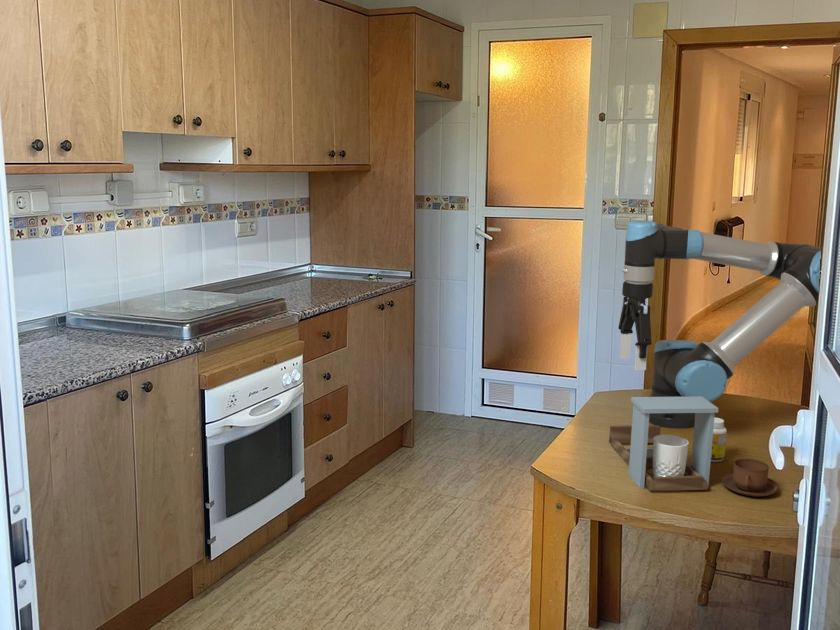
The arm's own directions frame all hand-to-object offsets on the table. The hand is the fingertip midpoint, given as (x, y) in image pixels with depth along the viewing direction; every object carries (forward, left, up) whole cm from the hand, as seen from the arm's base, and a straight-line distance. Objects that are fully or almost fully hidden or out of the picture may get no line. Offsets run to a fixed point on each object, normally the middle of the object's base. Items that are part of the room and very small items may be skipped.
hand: (632, 363), depth 219 cm
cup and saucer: (-4, +39, -21) cm, 44 cm away
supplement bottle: (-10, +21, -20) cm, 31 cm away
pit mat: (+5, +14, -20) cm, 25 cm away
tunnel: (+10, +28, -20) cm, 36 cm away
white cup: (+10, +28, -20) cm, 36 cm away
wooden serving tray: (+7, +20, -19) cm, 29 cm away
